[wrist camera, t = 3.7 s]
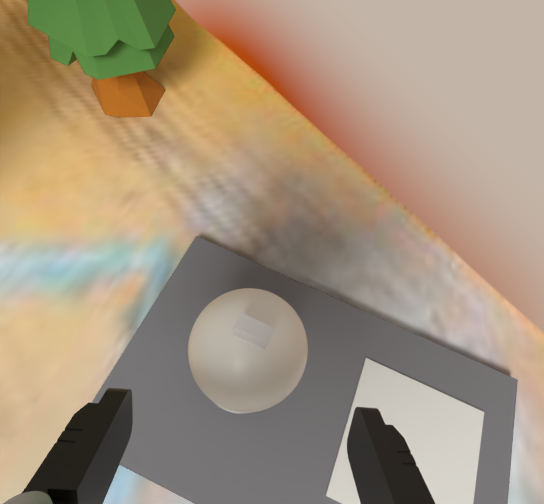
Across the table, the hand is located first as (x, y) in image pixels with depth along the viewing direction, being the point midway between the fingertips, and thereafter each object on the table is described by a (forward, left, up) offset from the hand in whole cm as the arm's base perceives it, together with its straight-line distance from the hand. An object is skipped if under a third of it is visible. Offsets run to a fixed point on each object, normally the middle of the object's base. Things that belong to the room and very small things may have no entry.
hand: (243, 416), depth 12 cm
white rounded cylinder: (-1, +2, -9) cm, 9 cm away
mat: (+4, +2, -9) cm, 10 cm away
